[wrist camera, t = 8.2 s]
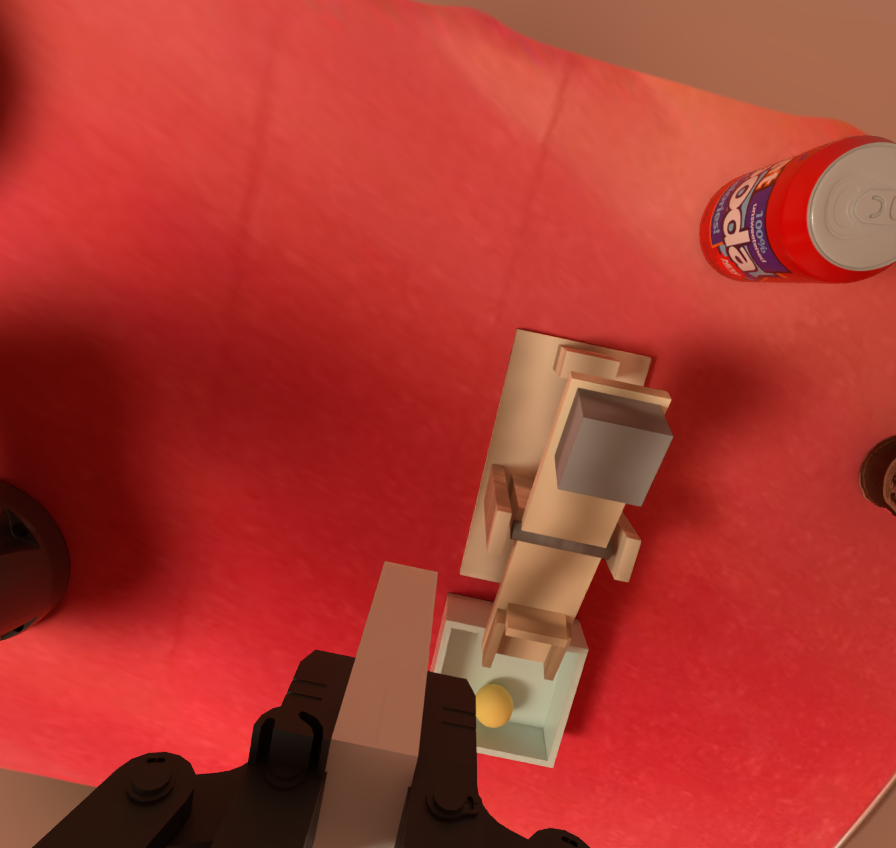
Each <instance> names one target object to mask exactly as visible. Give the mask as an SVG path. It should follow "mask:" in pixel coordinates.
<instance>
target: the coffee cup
mask: <svg viewBox="0 0 896 848" xmlns="http://www.w3.org/2000/svg"><path fill="white" fill-rule="evenodd" d="M859 487H860V488H861V491H862V494H863V497H864V498H865V499H866V500H868V501H870V502H872V503H874V504H875V505H877V506H878V507H884V508H887V509H888V510H889V511H891V512H892V514H893V515H894V516H896V436H894V437H890V438H887V439H885V440H883V441H881V442H880V443H878V444H877V445H876V446H875V447H873V448H872V449H871V450H870V451H869V452H868V453H867V455H866V456H865V458H864V460H863V462H862V465H861V468H860V472H859Z"/></svg>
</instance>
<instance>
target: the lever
mask: <svg viewBox="0 0 896 848" xmlns="http://www.w3.org/2000/svg"><path fill="white" fill-rule="evenodd" d="M671 400H672V399H671V397H670V395H669V393H668V392H667V391H663V390H658V389H653V388H649V387H644V386H639V385H635V384H630V383H625V382H621V381H616V380H611V379H606V378H602V377H597V376H592V375H588V374H583V373H578V372H574V371H570V374H569V377H568V380H567V383H566V386H565V389H564V392H563V395H562V398H561V401H560V404H559V407H558V411H557V414H556V417H555V420H554V423H553V426H552V429H551V432H550V435H549V438H548V441H547V444H546V447H545V450H544V453H543V456H542V459H541V462H540V465H539V468H538V471H537V474H536V477H535V480H534V483H533V486H532V489H531V492H530V495H529V498H528V501H527V504H526V507H525V510H524V514H523V517H522V520H521V521H520V520H515V519H514V520H513V523H512V526H511V532H510V539H512V540H515V541H514V544H513V547H512V550H511V553H510V556H509V559H508V562H507V565H506V568H505V571H504V574H503V577H502V580H501V583H500V586H499V589H498V592H497V595H496V598H495V601H494V604H493V607H492V610H491V613H490V616H489V620H488V623H487V626H486V629H485V632H484V635H483V638H482V644H481V650H482V651H483V655H482V667H487V668H491V666H492V663H493V660H494V657H495V654H496V653H497V654H502V655H506V656H511V657H516V658H521V659H526V660H531V661H536V662H540V663H544V664H543V665H544V679H546V680H551V681H553V680H554V677H555V675H556V673H557V671H558V668H559V666H560V664H561V662H562V660H563V657H564V655H565V653H566V651H567V648H568V646H569V644H570V642H571V640H572V631H571V626H572V624H573V621H574V619H575V617H576V615H577V612H578V610H579V608H580V606H581V603H582V601H583V599H584V597H585V594H586V592H587V590H588V588H589V585H590V583H591V581H592V578H593V576H594V574H595V572H596V569H597V567H598V565H599V563H600V560H601V558H603V559H608V560H609V559H610V558H611V556H612V552H613V541H612V540H610V538H611V535H612V533H613V531H614V529H615V526H616V524H617V522H618V520H619V517H620V515H621V513H622V511H623V508H624V506H625V504H630V505H635V506H640V507H641V506H642V504H643V501H644V499H645V497H646V495H647V493H648V491H649V488H650V486H651V484H652V482H653V480H654V478H655V475H656V473H657V471H658V469H659V467H660V465H661V462H662V460H663V458H664V456H665V454H666V452H667V449H668V447H669V445H670V443H671V441H672V439H673V434H672V432H671V429H670V427H669V425H668V422H667V420H666V418H665V413H666V411H667V409H668V407H669V404H670V402H671Z"/></svg>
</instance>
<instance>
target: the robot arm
mask: <svg viewBox="0 0 896 848" xmlns="http://www.w3.org/2000/svg"><path fill="white" fill-rule="evenodd" d="M437 576H438V572H435V571H430V570H425V569H420V568H416V567H411V566H406V565H401V564H396V563H391V562H387V561H385V562H384V565H383V568H382V572H381V575H380V578H379V582H378V585H377V588H376V592H375V595H374V598H373V602H372V605H371V608H370V612H369V615H368V618H367V622H366V625H365V628H364V632H363V635H362V638H361V642H360V645H359V648H358V652H357V655H356V658H354V657H349V656H344V655H339V654H334V653H329V652H325V651H320V650H315V651H313V652H312V653H311V654H310V655H308V656H307V657H306V658H305V659H303V660H302V661H301V662H300V664H299V666H298V669H297V671H296V673H295V676H294V678H293V681H292V682H291V685H290V687H289V689H288V691H287V695H286V696H285V698H284V701H283V703H282V705H281V706H280V707H276V708H273V709H271V710H269V711H268V712H266V713H264V714H262V715H261V716H260V718H259V719H258V720H257V721H256V723H255V724H254V727H253V733H252V740H251V746H250V753H249V759H248V762H247V763H246V764H244V765H243V766H241V767H238V768H235V769H233V770H230V771H225V772H219V773H209V774H197V775H195V772H194V770H193V768H192V766H191V763H190V762H188V761H187V760H185V759H184V758H183V757H181V756H180V755H176V754H172V753H168V752H157V753H147V754H145V755H142V756H139V757H136V758H133V759H131V760H130V761H128V762H127V763H125V764H124V765H122V766H121V767H119V768H118V769H117V770H116V771H115V772H114V773H112V774H111V775H110V776H109V777H108V778H107V779H106V780H105V781H104V782H103V783H102V784H101V785H99V786H98V787H97V788H96V789H95V790H94V791H93V792H92V793H91V794H90V795H89V796H88V797H87V798H86V799H85V800H83V801H82V802H81V803H80V804H79V805H78V806H77V807H76V808H75V809H73V810H72V811H71V812H70V813H69V814H68V815H67V816H66V817H65V818H64V819H63V820H62V821H60V822H59V823H58V824H57V825H56V826H55V827H54V828H53V829H52V830H51V831H50V832H49V833H48V834H46V836H44V837H43V838H42V839H41V840H40V841H39V842H38V843H37V844H36V845H35V846H33V847H32V848H590V847H589V846H588V845H587V844H586V843H584V842H583V841H582V840H581V839H580V838H579V837H577V836H575V835H573V834H571V833H569V832H567V831H565V830H560V829H554V828H548V829H544V830H539V831H537V832H536V833H535V834H534V835H533V836H531V837H530V838H529V840H528V839H526V838H524V837H522V836H520V835H518V834H517V833H515V832H513V831H511V830H509V829H507V828H506V827H504V826H503V825H501V824H500V823H498V822H497V821H496V820H495V819H494V818H493V817H492V816H491V815H490V814H489V813H488V811H487V810H486V809H485V807H484V806H483V803H482V799H481V798H480V796H479V794H478V788H477V742H476V695H475V694H474V692H473V690H472V688H471V686H470V684H469V682H468V680H467V679H464V678H459V677H454V676H450V675H445V674H440V673H435V672H430V671H427V669H428V660H429V650H430V641H431V632H432V623H433V613H434V604H435V595H436V586H437ZM68 578H69V558H68V552H67V548H66V545H65V542H64V539H63V537H62V535H61V533H60V531H59V529H58V527H57V526H56V524H55V522H54V521H53V520H52V518H51V517H50V516H49V514H48V513H47V512H46V511H45V510H44V509H43V508H42V507H41V506H40V505H39V504H38V503H37V502H36V501H35V500H33V499H32V498H31V497H29V496H28V495H27V494H25V493H23V492H22V491H20V490H18V489H17V488H15V487H13V486H11V485H8V484H6V483H3V482H0V641H1V640H5V639H8V638H11V637H14V636H16V635H18V634H20V633H22V632H24V631H26V630H28V629H29V628H31V627H32V626H33V625H35V624H36V623H37V622H38V621H40V620H41V619H42V618H43V617H45V616H46V615H47V614H48V613H50V612H51V611H52V610H53V609H54V608H55V607H56V605H57V604H58V603H59V601H60V600H61V598H62V596H63V594H64V592H65V589H66V586H67V583H68Z"/></svg>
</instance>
